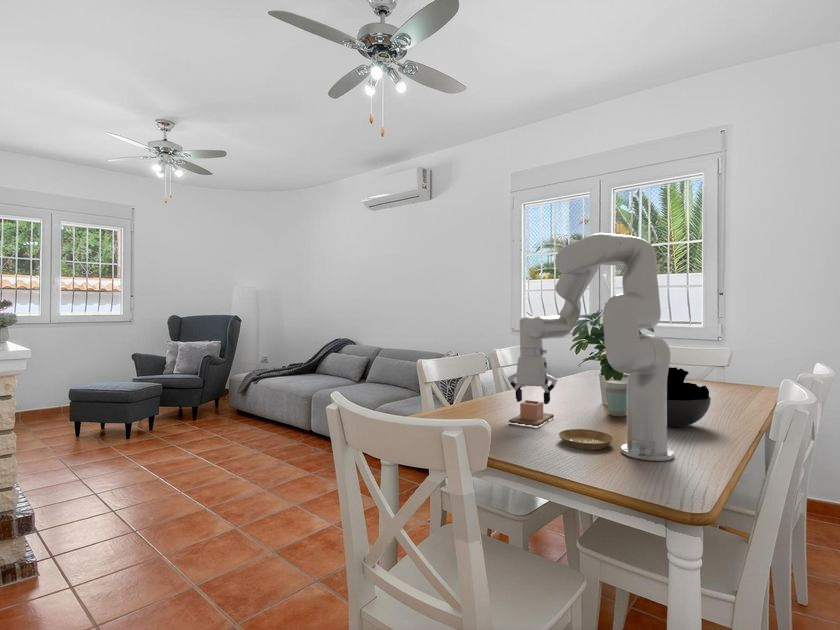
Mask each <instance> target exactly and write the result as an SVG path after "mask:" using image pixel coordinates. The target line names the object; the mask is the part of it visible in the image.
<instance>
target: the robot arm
mask: <svg viewBox="0 0 840 630" xmlns="http://www.w3.org/2000/svg"><path fill="white" fill-rule="evenodd" d="M554 259H555V260H554V264H555V268H556V270H557V271H558V272H559V273H561V275H560V277H559V279H558V280H557V282H556V284H555V285H554V286H555V287H554V290H555V292H556V293H557V295H558V296H560V297H561V299H563V300H564V303H563V307H562V308H561V310H560V312H559V314H558V315H541V316H540V315H539V316H527V317H526V316H525V317H524V316H523V317H522V318H520V319H519V354H520V356H518V358H517V364H516V373H513V374H511V375H510V376H508V377H507V380H508V382H509V383H510V385H511V387H512V388H513V389H514V391H515V399H516V402H517V403H519V402H520V403H521V402H522V400H523V389H521V388H522V387H523V386H525V387H541V388H542V389H543V390H544V392H543V405H549V403H550V402H551V391H552V390H553V389H555V387H556V385H557V383H558V381H559V380H558V379H557V378H556V377H554V376H552V375H550V374H549V369H548V368H549V367H548V363H547V358H546V356H544V355H545V354H547V353H548V352H547V349H544V347H543V340H547V339H548V340H549V339H562V338H565V337H567V336H568V335H570V333H571V331H573V329H574V328H575V326H576V324H577V323H578V321H579V320H580V316H581V310H582V303H581V298H582V296H583V295H584V293H585V291H586V290H587V288H588V286H589V285H590V284H591V281H593V279H594V277H595V275H596V273H597V272H598V270H599V269H600V267H601V266H602V265H603V266H623V267H625V269H624V271H623V274H622V279H621V282H622V292H623V293H618V294H615V295H613V296H611V297H610V298H609V299H608V300H607V301H606V303H605V304H604V308H603V312H602V326H603V335H604V336H603V337H604V339H603V340H604V348H605V356H606V359H607V362H608V364H609V365H610V367H611V368H612V369H613V370H614V371H616V372H618V373H621V374H628V377H627V381H626V382H627V412H626V440H627V441H626V443H624V444H622V445H621V446H620V452H621V453H622V454H624V455H625V456H627V457H630V458H633V459H636V460H644V461H652V462H665V461H669V460H673V459H674V457H675V452H674V451H673V450H672V449H671V448H669V447H668V425H667V376H668V369H669V367H670V363H671V350H670V349H671V348H670V347H669V344H668V343H667V342H666V341H665V340H664V339H663V338H662V337H660V336H657V335H656V334H655V335H654V334H649V333H648V334H640V330H647V329H648V330H649V329H652V328H654V327H656V326H657V325H658V324H659V322H660V321H661V318H662V317H661V316H662V315H661V313H662V311H661V301H660V300H661V299H660V291H659V290H660V289H659V288H660V287H659V281H658V269H657V268H658V267H657V266H658V263H657V260H658V259H657V253H656V250H655V248H654V247H653V245H652V244H651V243H650V242H649V241H648V240H645V239H644V238H641V237H637V236H633V235H627V234H617V233H606V232H598V233H594V234H591V235H588V236H585V237H583V238H581V239H578V240H576V241H573V242H571V243H568V244H566V245H564V246H563V247H561V248H560V249H559V250H558V251H557V253H556V256H555V258H554ZM515 379H516V382H515ZM550 381H551V383H550V384H549V382H550ZM548 384H549V385H548Z"/></svg>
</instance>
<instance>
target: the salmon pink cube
mask: <svg viewBox="0 0 840 630" xmlns="http://www.w3.org/2000/svg"><path fill="white" fill-rule="evenodd" d="M519 404H520V405H519V408H520V409H519V411H520V412H519V413H520V414H519V415H520V418H525V419H533V420H538V419H540V418H542V417H543V413H544V401H537V400H529V399H527V400H525V401H523V402H522V401H521V402H520V403H519Z"/></svg>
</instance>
